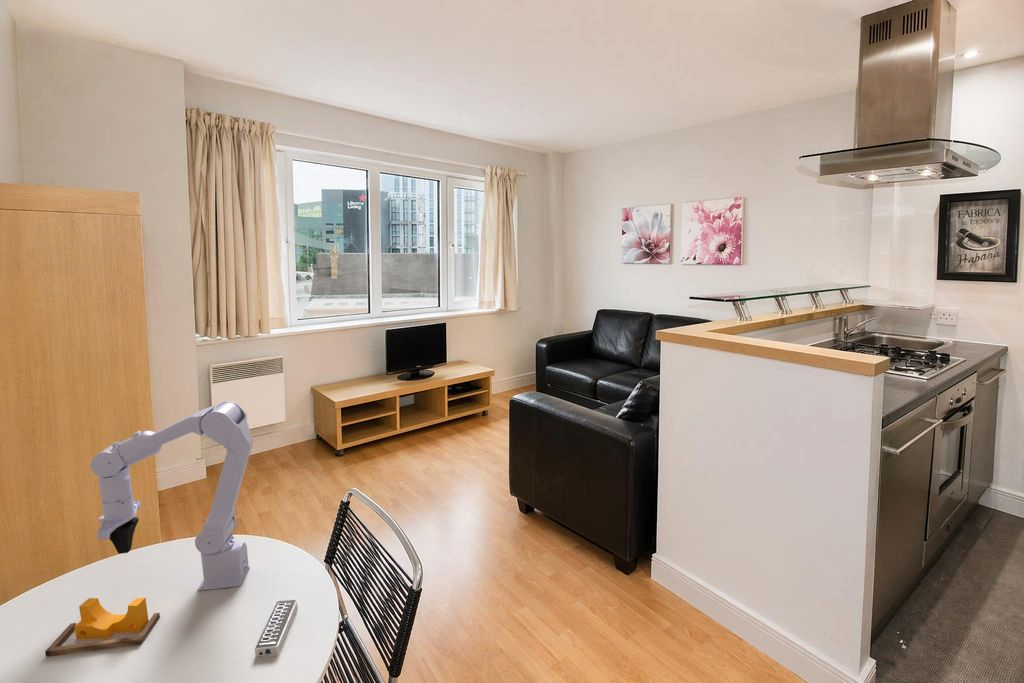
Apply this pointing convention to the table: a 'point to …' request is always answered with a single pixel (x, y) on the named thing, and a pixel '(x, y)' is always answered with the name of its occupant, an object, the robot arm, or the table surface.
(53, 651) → the bay
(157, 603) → the table surface
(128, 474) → the robot arm
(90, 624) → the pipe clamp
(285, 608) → the multiport hub
